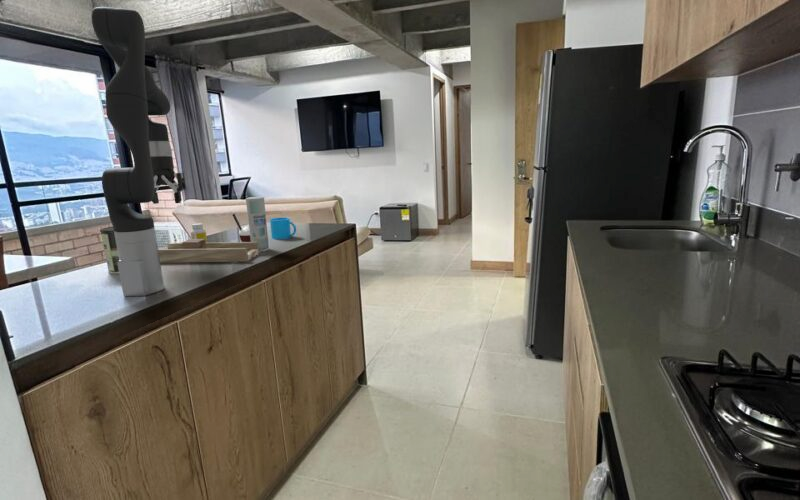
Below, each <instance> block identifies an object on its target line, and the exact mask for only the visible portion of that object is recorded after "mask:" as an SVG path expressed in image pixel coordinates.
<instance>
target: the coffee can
mask: <svg viewBox="0 0 800 500" xmlns="http://www.w3.org/2000/svg"><path fill="white" fill-rule="evenodd" d="M99 232H100V233H101V239H102V244H103V250H104V254H105V260H106V264H107V265H106V266H107V269H108V270H107V271H108V274H112V275H120V274H119V269H118V264H117V262H118V261H119V256H118V250H117V245H116V239H115V234H114V229H113V226H109V227H108V226H107V227H103V228H101V229H100V230H99Z"/></svg>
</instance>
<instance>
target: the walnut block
mask: <svg viewBox="0 0 800 500" xmlns="http://www.w3.org/2000/svg"><path fill="white" fill-rule="evenodd" d="M181 243H182V245H183V249H207V247H206V240H205V239H191V238H189V239H187V240H185V241H182V242H181Z"/></svg>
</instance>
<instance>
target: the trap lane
mask: <svg viewBox="0 0 800 500" xmlns="http://www.w3.org/2000/svg"><path fill="white" fill-rule="evenodd" d="M166 246H167V248H166V249H165V248H164V249H161V248H158V252H159V258H160V264H162V263H163V264H164V263H165V264H166V263H167V264H169V263H222V262H223V263H225V262H226V263H228V262H229V263H230V262H231V263H232V262H238V261H240V262H249V261H250V260H252V259H254V258H256V257H257V256H258V255H260V252H259V244H258V242H242V241H232V242H231V241H228V242H224V241H223V242H217V241H216V242H207V243H206V247H207V249H183V245H182V242H177V243H176V242H171V243H170V242H168V243H167V244H166ZM256 255H257V256H256ZM253 257H254V258H253Z"/></svg>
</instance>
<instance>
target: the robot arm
mask: <svg viewBox="0 0 800 500" xmlns="http://www.w3.org/2000/svg"><path fill="white" fill-rule="evenodd" d="M91 24H92V28H93V32H94V34H95V36H96V38H97V39H98V41H99V42H100V44H101V46H102V47H103V48H104V49H105V51H106V52H107V53H108V54H109V56H110V58H111V59H112V60H113V62H114V63H115V64H116V66H117V67H118V68H119V69H118V70H117V71H116V73H115V74H114V75H113V77H111V79H110V81H109V82H108V84H107V86H106V88H105V92H104V93H105V108H106V109H105V113H106V117H107V119H108V121H109V123H110V124H111V126H112V127H113V129H114V130H115V131H116V132H117V134H118V135H119V136H120V137H121V139H122V140H123V141H124V142H125V144H126V145H127V147H128V148H129V150H130V152H131V156H132V158H133V165H134V166H133V167H115V168H114V167H113V168H112V167H111V168H107V169H105V170H103V173H102V175H101V176H102V177H101V187H102V192H103V195H104V199H105V203H106V207H107V213H108V215H109V219H110V221H111V222H110V223H111V224H112V225H111V226H112V227H113V229H114V234H115V239H116V245H117V250H118V256H119V261H118V262H117V264H118V269H119V274H118V275H119V278H120V284H121V289H122V294H123V297H132V296H133V297H138V296H139V297H143V296H144V297H146V296H148V295H151V294H155V293H158V292H160V291H162V290H164V288H165V282H164V278H163V271H162V265H161V264H162V263H160V258H159V252H158V249H159V247H158V246H159V245H158V241H157V235H156V229H155V228H156V227H155V221H154V219H153V217H152V216H150V215H147V214H143V213H139V212H137V211H135V210H133V209H131V208H130V207H129V205H130V204H147V203H151V202H152V204H155V205H157V204H160V203H159V202H160V200H159V195H158V190H159V188H160V187H161V186H167V187H169V188H170V189H172V191H173V192H174V193H173V196H174V197H173V198H174V202H175V204H181V202H182V194H181V193H182V191H186V189H187V188H186V180H185V173H184V172H175V171H174V169H175V165H174V158H173V152H172V147H171V144H170V138H169V137H170V136H169V131H168V127H167V125H166V124H165V123H162V122H157V121H156V122H155V121H152V119H150V117H149V116H166V115H168V114H169V113H170V111H171V102H170V100H169V98H168V97H167V95H166V94H165V93H164V92H163V91H162V90H161V89H160V88H159V86H158V85H157V84H156V82H155V79H154V77H153V75H152V73H151V71H150V69H149V68H148V66H147V65H145V64H146V63H145V62H146V61H145V58H146V55H145V54H146V49H145V48H146V46H145V45H146V34H145V25H144V21H143V18H142V16H141V14H140V13H139V12H138V11H137V10H135V9H129V8H123V7H121V8H120V7H108V6H98V7H94V8H93V9H92V11H91ZM126 48H127V49H126ZM175 179H176V180H175Z"/></svg>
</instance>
